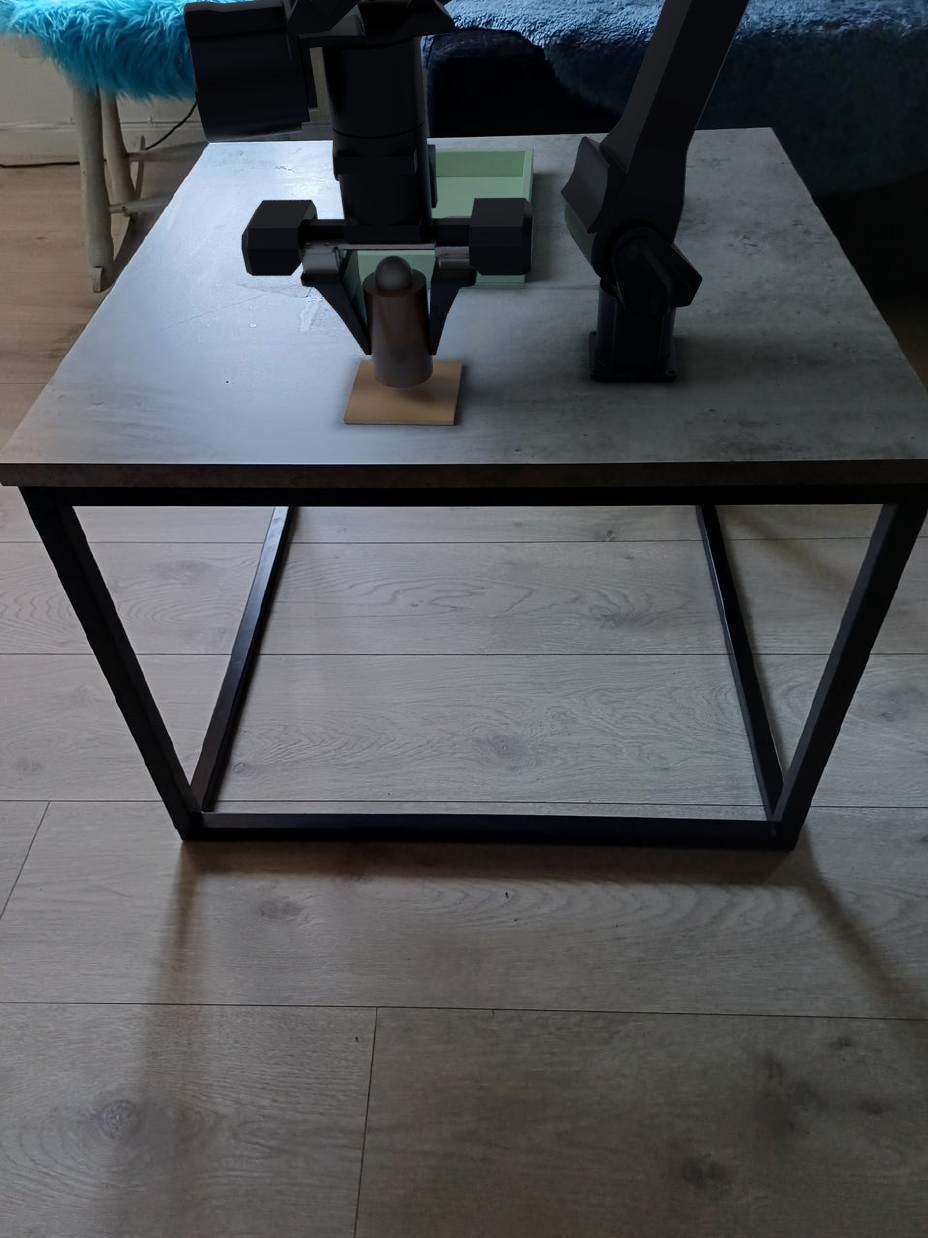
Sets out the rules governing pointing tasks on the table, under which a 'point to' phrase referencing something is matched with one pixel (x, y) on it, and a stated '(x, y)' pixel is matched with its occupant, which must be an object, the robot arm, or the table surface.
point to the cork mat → (405, 398)
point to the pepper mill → (398, 323)
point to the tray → (467, 201)
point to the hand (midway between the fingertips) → (402, 352)
